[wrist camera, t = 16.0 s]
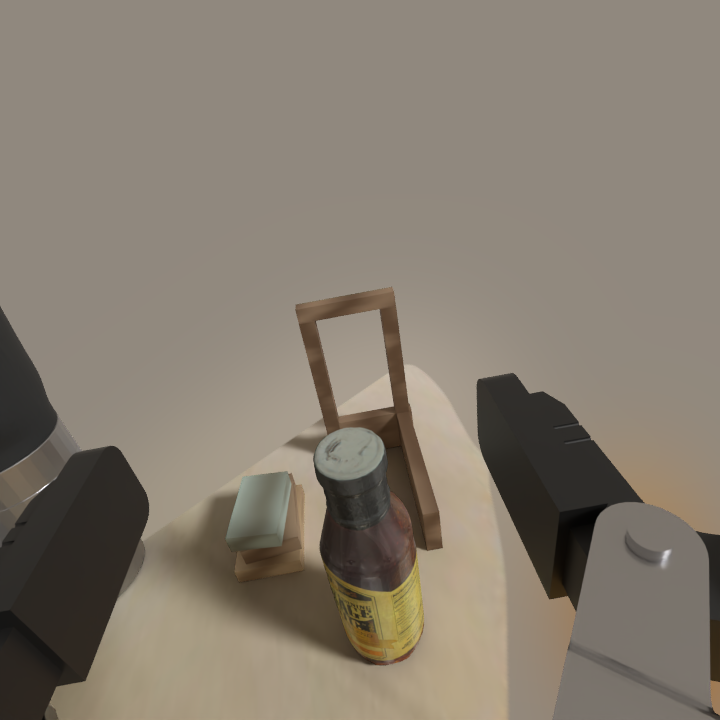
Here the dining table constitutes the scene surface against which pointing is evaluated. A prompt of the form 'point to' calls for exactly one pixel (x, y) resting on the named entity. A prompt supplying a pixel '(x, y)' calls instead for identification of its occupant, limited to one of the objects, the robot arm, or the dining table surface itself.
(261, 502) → the offcut stack
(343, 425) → the walnut rack
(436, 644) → the dining table surface
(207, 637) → the dining table surface
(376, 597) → the sauce bottle
